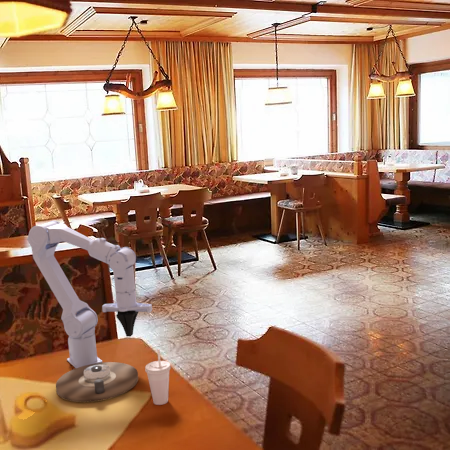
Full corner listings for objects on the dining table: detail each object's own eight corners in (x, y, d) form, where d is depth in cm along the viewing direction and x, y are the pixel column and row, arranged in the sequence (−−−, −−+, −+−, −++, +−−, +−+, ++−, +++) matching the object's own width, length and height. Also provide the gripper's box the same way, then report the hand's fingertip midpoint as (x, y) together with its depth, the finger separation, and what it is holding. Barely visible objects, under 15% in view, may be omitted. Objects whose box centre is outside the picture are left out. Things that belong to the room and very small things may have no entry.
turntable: (38, 393, 158) (36, 377, 157) (93, 362, 176) (92, 348, 176) (102, 408, 147) (100, 391, 146) (154, 373, 166) (152, 358, 165)
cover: (79, 381, 160) (77, 370, 160) (96, 371, 166) (95, 361, 166) (99, 385, 157) (97, 374, 156) (115, 374, 163) (114, 364, 162)
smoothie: (169, 407, 146) (164, 354, 144) (144, 406, 148) (139, 353, 145) (176, 396, 152) (172, 344, 150) (152, 395, 154) (148, 344, 151)
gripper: (96, 294, 167) (100, 339, 170) (144, 294, 164) (148, 340, 167) (106, 287, 174) (110, 331, 177) (152, 287, 171) (156, 331, 174)
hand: (129, 335), depth 172 cm, fingers closed
